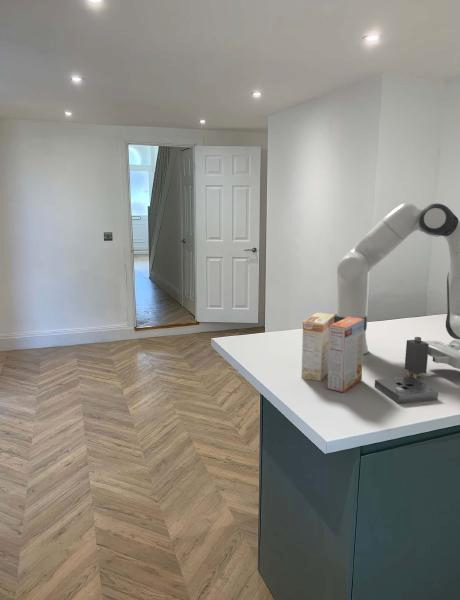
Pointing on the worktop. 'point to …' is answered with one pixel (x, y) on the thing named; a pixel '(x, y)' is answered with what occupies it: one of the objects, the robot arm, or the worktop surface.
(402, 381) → the socket plate
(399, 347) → the worktop surface
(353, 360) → the cracker box
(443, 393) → the worktop surface
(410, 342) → the plug
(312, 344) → the coffeecake box
